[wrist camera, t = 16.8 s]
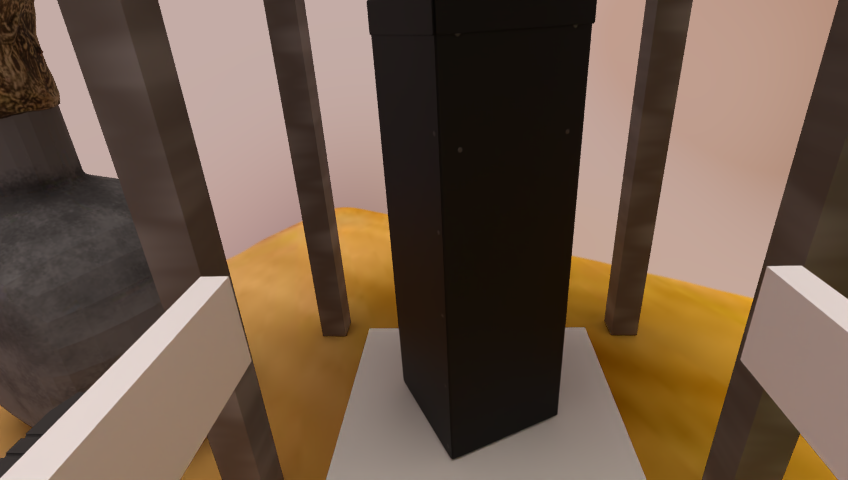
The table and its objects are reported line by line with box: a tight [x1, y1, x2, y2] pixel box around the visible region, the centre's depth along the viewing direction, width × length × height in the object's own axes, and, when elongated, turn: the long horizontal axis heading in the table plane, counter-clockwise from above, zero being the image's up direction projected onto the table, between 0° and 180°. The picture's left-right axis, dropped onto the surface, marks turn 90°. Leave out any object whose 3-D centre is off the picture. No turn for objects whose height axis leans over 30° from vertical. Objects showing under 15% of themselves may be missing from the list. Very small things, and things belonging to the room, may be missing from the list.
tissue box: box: [367, 0, 597, 459], centre depth 26 cm, size 8×8×28 cm
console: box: [57, 0, 848, 480], centre depth 24 cm, size 26×20×38 cm
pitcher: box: [0, 0, 165, 427], centre depth 28 cm, size 11×19×30 cm, turn 64°
